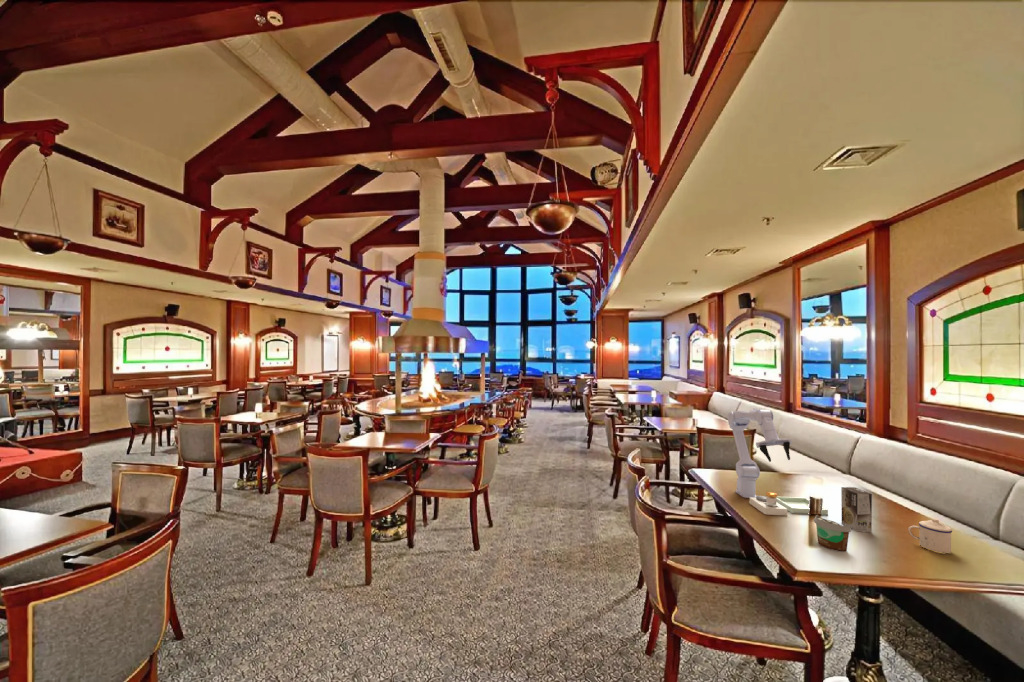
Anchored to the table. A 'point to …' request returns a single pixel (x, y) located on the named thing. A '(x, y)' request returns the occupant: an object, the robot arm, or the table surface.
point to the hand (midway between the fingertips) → (779, 460)
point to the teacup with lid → (934, 535)
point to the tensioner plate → (761, 506)
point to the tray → (797, 505)
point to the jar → (771, 499)
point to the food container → (832, 534)
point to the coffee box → (856, 509)
